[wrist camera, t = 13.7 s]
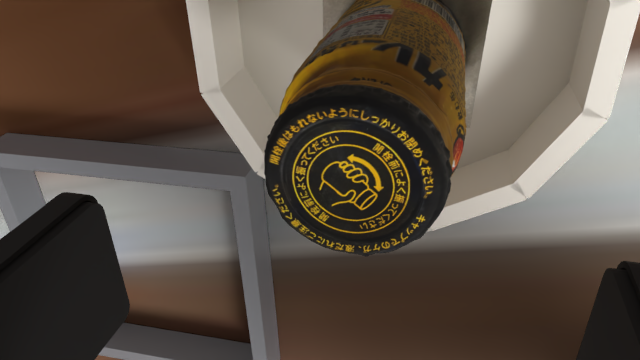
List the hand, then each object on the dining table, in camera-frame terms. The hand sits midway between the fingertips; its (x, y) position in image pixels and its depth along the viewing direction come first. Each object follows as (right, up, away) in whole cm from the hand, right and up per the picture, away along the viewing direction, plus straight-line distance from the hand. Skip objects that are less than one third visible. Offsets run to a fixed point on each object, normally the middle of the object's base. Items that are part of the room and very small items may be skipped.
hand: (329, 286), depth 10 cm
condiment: (+4, +9, +14) cm, 17 cm away
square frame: (-12, -3, +26) cm, 28 cm away
